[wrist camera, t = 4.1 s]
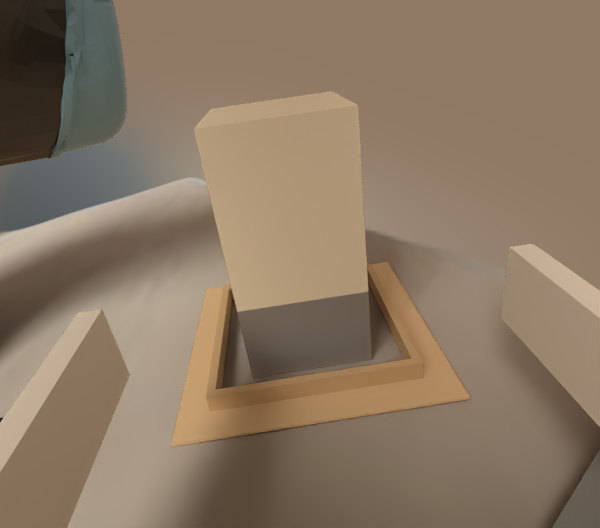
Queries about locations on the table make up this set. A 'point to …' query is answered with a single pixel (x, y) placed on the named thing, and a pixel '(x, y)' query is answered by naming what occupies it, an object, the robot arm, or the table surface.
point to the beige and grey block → (291, 228)
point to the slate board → (583, 501)
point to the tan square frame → (312, 376)
